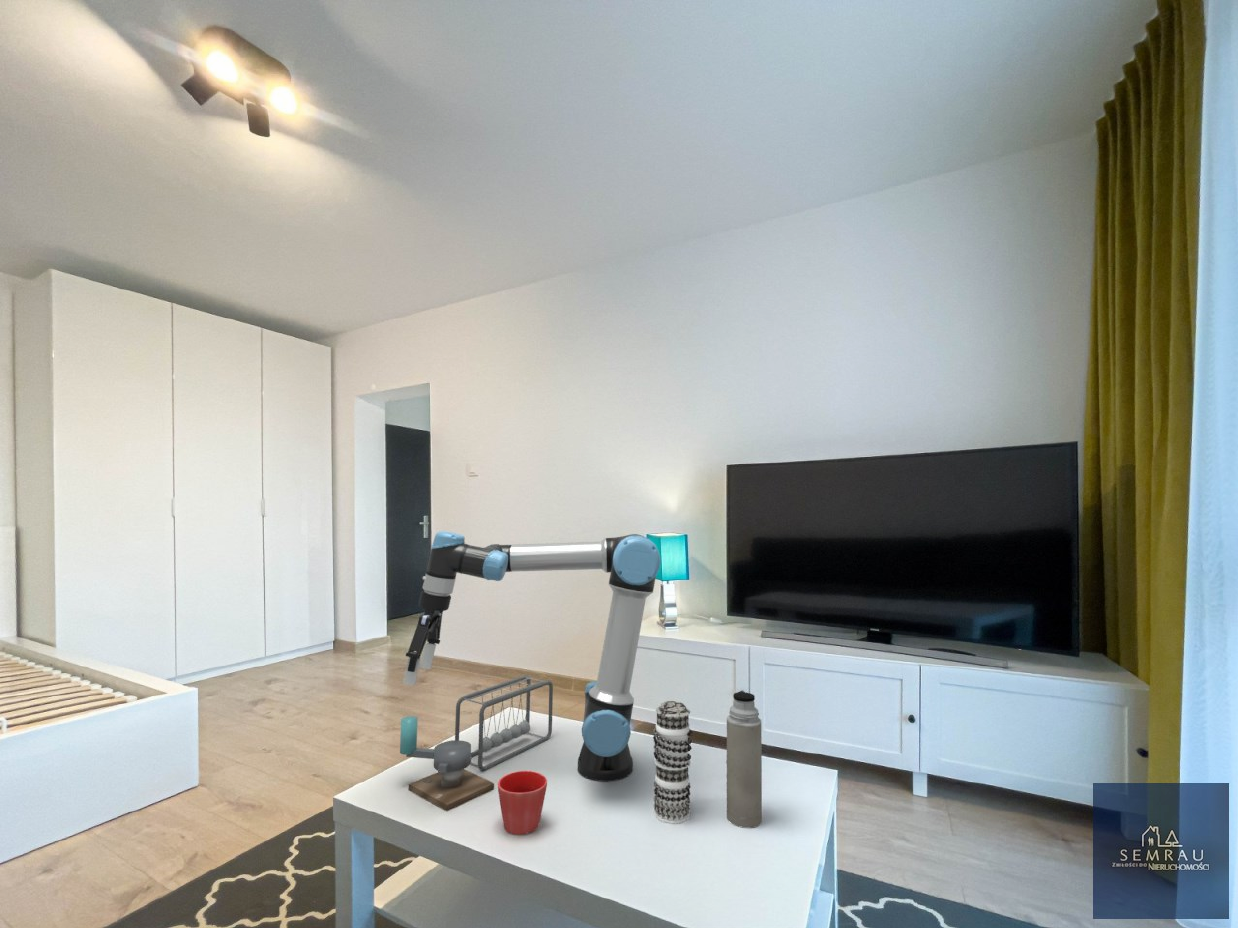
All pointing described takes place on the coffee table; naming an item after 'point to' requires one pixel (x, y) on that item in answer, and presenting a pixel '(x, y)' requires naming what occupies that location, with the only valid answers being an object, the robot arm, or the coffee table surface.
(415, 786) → the post board
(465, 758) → the crank handle
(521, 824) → the flower pot
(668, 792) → the decorative candle
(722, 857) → the coffee table surface
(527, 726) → the newton's cradle
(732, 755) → the thermos bottle
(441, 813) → the coffee table surface
